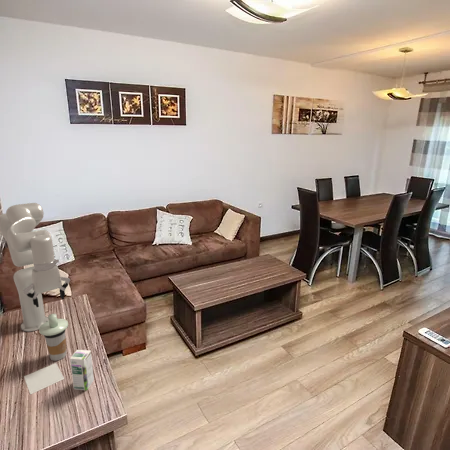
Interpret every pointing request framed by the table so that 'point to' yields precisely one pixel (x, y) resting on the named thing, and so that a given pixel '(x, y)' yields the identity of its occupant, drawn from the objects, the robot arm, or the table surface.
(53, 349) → the coffee cup
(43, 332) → the lid
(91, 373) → the syrup box
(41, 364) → the table surface
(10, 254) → the robot arm
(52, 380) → the mat
